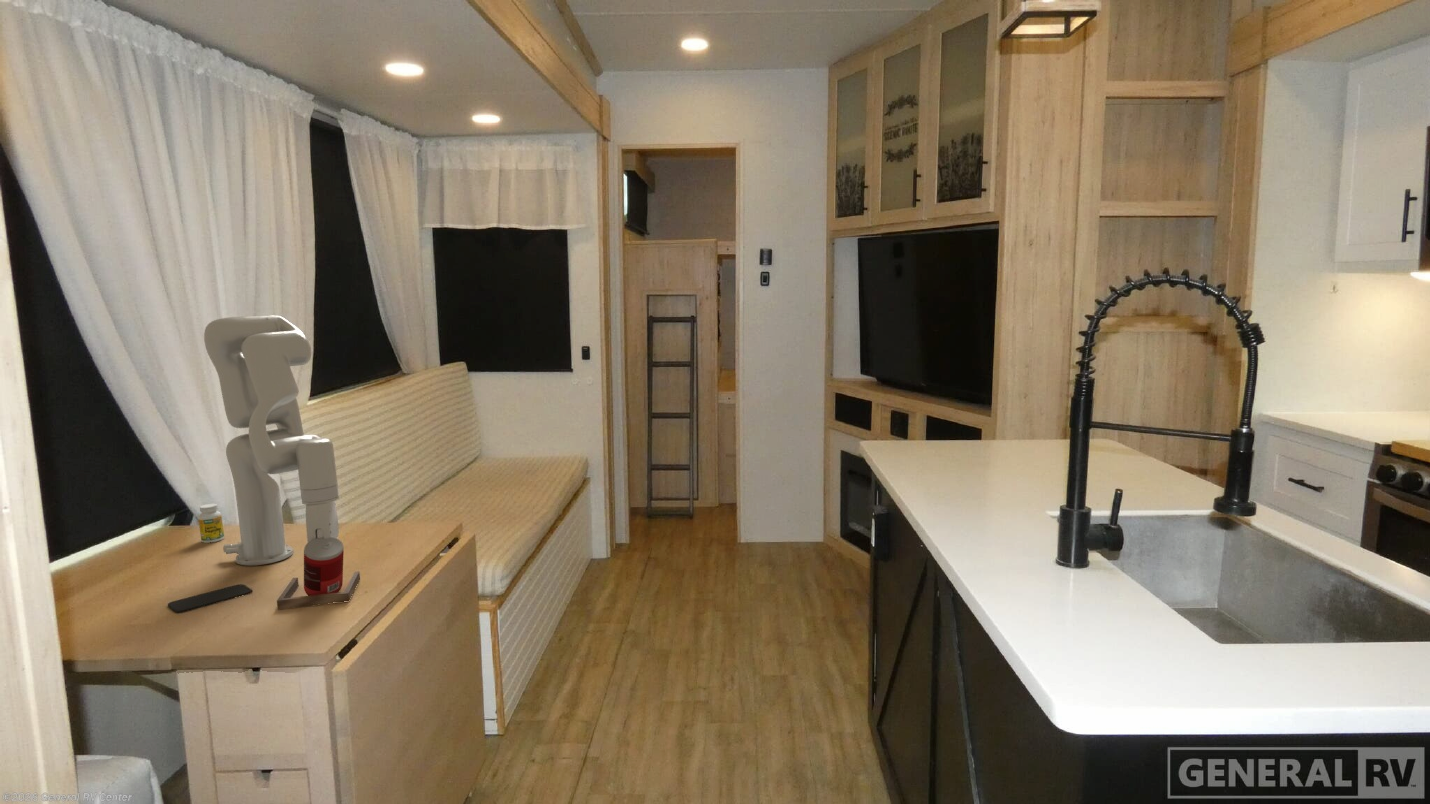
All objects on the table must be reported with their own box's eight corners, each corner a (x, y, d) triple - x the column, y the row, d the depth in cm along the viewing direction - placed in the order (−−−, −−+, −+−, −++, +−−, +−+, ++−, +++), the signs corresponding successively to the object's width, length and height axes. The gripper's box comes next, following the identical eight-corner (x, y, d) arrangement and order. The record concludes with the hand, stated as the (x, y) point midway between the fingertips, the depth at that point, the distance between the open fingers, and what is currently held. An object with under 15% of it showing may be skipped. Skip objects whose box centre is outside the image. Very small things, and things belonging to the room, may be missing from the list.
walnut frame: (277, 609, 172) (276, 600, 172) (293, 586, 185) (292, 577, 185) (349, 601, 175) (348, 593, 175) (360, 579, 188) (359, 571, 188)
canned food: (346, 578, 185) (347, 537, 180) (337, 601, 177) (338, 559, 173) (309, 576, 183) (310, 535, 179) (299, 598, 176) (299, 556, 171)
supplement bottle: (221, 535, 223) (217, 501, 222) (226, 539, 220) (222, 505, 218) (198, 540, 220) (194, 505, 218) (203, 544, 216) (199, 509, 214)
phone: (254, 590, 182) (177, 612, 171) (254, 594, 182) (177, 615, 171) (241, 583, 187) (165, 603, 176) (242, 586, 187) (166, 606, 176)
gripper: (309, 488, 188) (318, 565, 191) (293, 504, 174) (303, 586, 176) (344, 485, 190) (353, 561, 193) (331, 500, 176) (341, 581, 178)
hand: (329, 573), depth 185 cm, fingers closed
